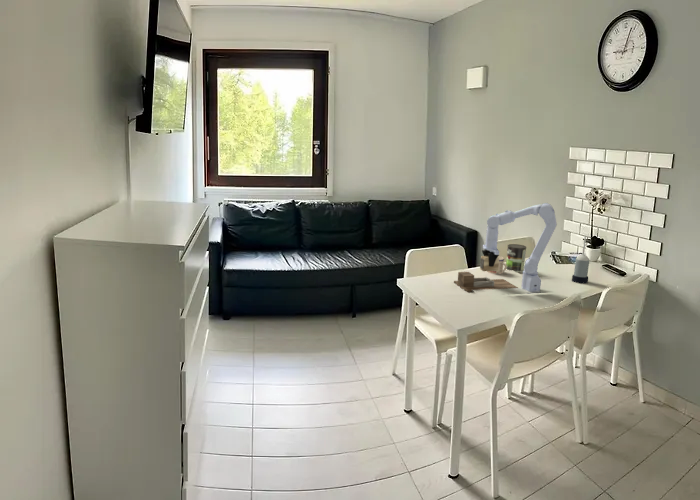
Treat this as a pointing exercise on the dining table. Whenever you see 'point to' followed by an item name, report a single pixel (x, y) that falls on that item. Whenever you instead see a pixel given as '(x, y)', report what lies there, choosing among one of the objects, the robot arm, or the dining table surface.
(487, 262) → the beige pillar with cap
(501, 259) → the teacup with lid
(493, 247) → the robot arm
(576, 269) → the humidifier
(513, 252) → the coffee can
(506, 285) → the post board
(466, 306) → the dining table surface
